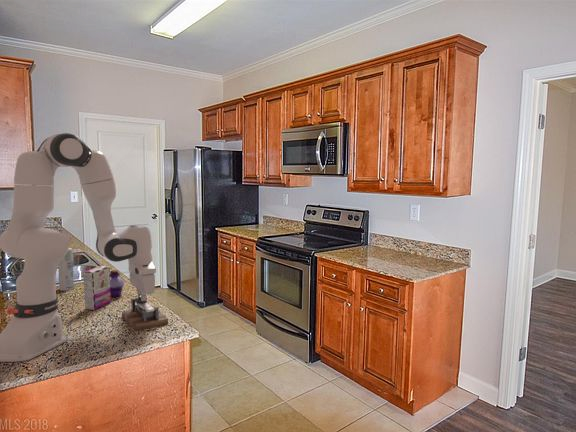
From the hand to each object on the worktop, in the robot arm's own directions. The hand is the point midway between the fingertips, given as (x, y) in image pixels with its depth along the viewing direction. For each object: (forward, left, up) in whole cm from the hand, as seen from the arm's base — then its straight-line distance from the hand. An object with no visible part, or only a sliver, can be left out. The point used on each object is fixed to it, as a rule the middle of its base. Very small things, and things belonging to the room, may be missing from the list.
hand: (142, 299), depth 155 cm
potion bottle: (+25, +25, -7) cm, 35 cm away
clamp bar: (-3, -2, -1) cm, 4 cm away
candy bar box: (+11, +25, -7) cm, 28 cm away
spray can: (+33, +54, -7) cm, 63 cm away
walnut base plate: (-3, -2, -7) cm, 8 cm away
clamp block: (-3, -2, -5) cm, 7 cm away
